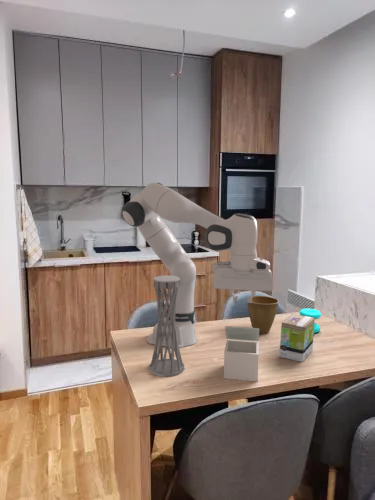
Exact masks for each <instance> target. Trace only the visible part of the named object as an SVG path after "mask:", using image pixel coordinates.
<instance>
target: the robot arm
mask: <svg viewBox="0 0 375 500" xmlns="http://www.w3.org/2000/svg"><path fill="white" fill-rule="evenodd" d="M121 215H122V218H123V219H124V221H125V222H126V223H127V225H129V226H131V227H135V228H137V229H138V231H139V232H140V235H142V237H143V238H144V240H145V241H146V242H147V244H148V245H149V247H150V248H151V249H152V251H153V252H154V254H155V255H156V256H157V257H158V258H159V260H160V261H161V262H162V263H163V264H164V266H165V267H166V269H167V270H168V271H169V276H177V277H179V278H180V287H178V291H177V297H176V311H175V322H176V331H177V339H178V345H179V349H180V348H183V347H188V346H191V345H194V344H195V343H197V342H198V338H197V333H196V328H195V323H196V310H195V287H196V281H197V280H196V279H197V278H196V277H197V268H196V264H195V262H194V261H193V260H192V259H191V258H190V256H189V255H188V254H187V251H185V249H184V248H183V247H182V245H181V243H180V242H179V240H178V239H177V238H176V236H175V235H174V233H173V232H172V231H171V230H170V228H169V227H168V226H167V224H166V223H165V221H168V222H170V223H176V224H194V225H197V226H201V227H202V228H204V229H206V230H205V233H204V242H205V244H206V246H207V247H208V248H209V249H211V250H213V251H216V252H222V251H230V252H229V253H230V260H229V261H216V262H214V263H213V265H212V273H213V279H212V280H213V281H212V286H213V288H214V289H216V290H217V289H218V290H229V293H230V295H231V297H232V303H238V297H239V296H237V295H235V290H236V291H237V290H238V291H250V292H251V294H250V296H247V298H248V301H247V300H246V301H247V304H248V303H252V298H253V296H256V291H257V292H259V291H260V292H272V290H273V289H274V279H273V273H272V270H271V269H270V268H271V263H270V261H269V260H266V259H264V258H260V257H258V251H257V244H258V236H259V235H258V223H257V220H256V218H255V217H254V216H253V215H251V214H247V213H246V214H245V213H239V212H238V213H234V214H233V215H232V216H230V217H229V218H227V219H226V218H223V217H221V216H219V215H218V214H215V213H214V212H211V211H210V210H207V209H206V208H204V207H202V206H200V205H198V204H197V203H195V202H194V201H192V200H190V199H188V198H187V197H186V196H184V195H182V194H180V193H179V192H178V191H176V190H174V189H172V188H170V187H168V186H165V185H164V184H162V183H160V182H151V183H148V184H146V185H145V186H144V188H143V190H140V191H139V192H138V193H137V194H136V195H135V196H133V197H132V198H131V199H130V200H129V201H126V202H125V204H124V205H123V206H122V207H121ZM164 220H165V221H164ZM172 293H173V289H172ZM168 302H169V305H170V297H169V301H168ZM166 311H167V313H168V308H167V309H166ZM165 321H166V318H165V317H164V322H165ZM169 322H170V316H169ZM157 326H158V322H157V323H156V324H155V325H154V327H153V329H152V332H151V333H150V334H149V335H148V337H147V339H146V340H147V341H146V342H147V343H148V344H149V345H154V346H155V342H156V334H157ZM168 330H169V329H168V326H167V328H166V332H167V335H168ZM171 330H172V325H171ZM162 332H163V325H162ZM174 341H175V340H174ZM159 344H160V340H159V342H158V346H159ZM169 346H170V348H171V346H172V340H171V337H169ZM162 347H166V339H165V336H164V340H163V344H162Z"/></svg>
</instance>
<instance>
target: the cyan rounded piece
mask: <svg viewBox="0 0 375 500" xmlns="http://www.w3.org/2000/svg"><path fill="white" fill-rule="evenodd" d="M299 315H301V316H307V317H313V318H315V320H318V319H320V318H321V317H322V313H321V312H320V310H317V309H314V308H301V309H300V310H299ZM319 332H321V326H320V325H319V324H318V323H316V322H314V334H317V333H319Z"/></svg>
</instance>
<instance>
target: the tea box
mask: <svg viewBox="0 0 375 500" xmlns="http://www.w3.org/2000/svg"><path fill="white" fill-rule="evenodd" d="M315 320H316V319H315V318H313V317H307V316H301V315H300V314H295V313H292V314H291V315H290V316H288V317H287V318H286V319H284V320H283V321H282V322H281V327H280V328H281V329H280V343H279V357H281V358H284V359H287V360H292V361H296V362H302V363H303V362H304V361H305V359H306V358H307V357H308V356H309V355H310V354H311V352H312V351H313V347H314V334H315V333H314V323H315Z"/></svg>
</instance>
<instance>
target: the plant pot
mask: <svg viewBox="0 0 375 500" xmlns="http://www.w3.org/2000/svg"><path fill="white" fill-rule="evenodd" d="M246 301H248V297H247V298H246ZM278 307H279V299H277V298H275V297H273V296H272V297H271V296H267V295H266V296H265V295H254V296H253V298H252V303H247V309H248V310H247V311H248V315H249V316H248V317H249V319H250V323H251V328H259V335H267V334H269V333H270V332H271V331H270V330H271V329H272V326H273V323H274V322H275V318H276V314H277V311H278Z"/></svg>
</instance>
